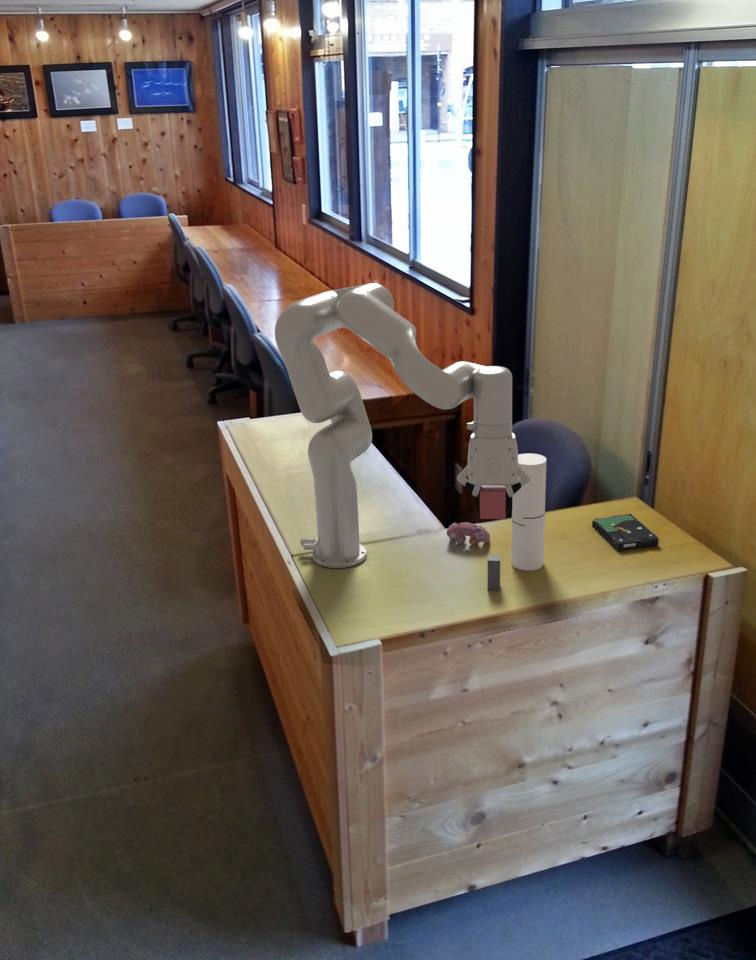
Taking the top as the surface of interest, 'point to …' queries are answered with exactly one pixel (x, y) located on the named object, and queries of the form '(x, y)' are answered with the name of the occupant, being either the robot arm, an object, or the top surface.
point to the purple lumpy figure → (468, 533)
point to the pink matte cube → (492, 502)
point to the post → (494, 572)
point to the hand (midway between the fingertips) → (493, 511)
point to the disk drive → (625, 532)
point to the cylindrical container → (529, 515)
